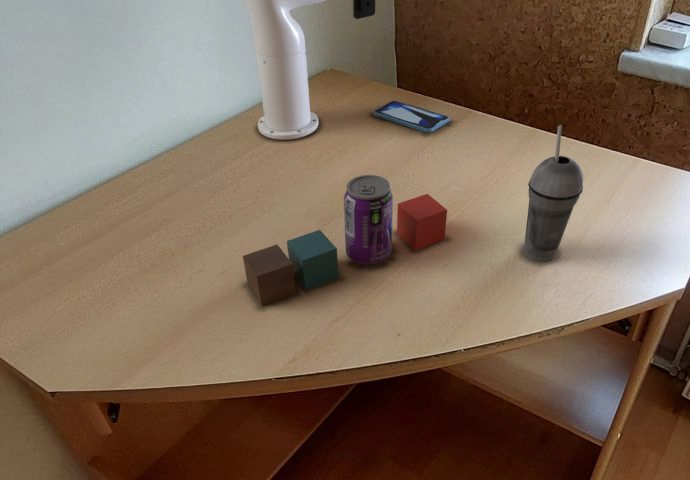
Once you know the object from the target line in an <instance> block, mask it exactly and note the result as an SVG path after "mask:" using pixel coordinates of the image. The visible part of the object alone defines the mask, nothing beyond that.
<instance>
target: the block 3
mask: <svg viewBox="0 0 690 480" xmlns="http://www.w3.org/2000/svg"><path fill="white" fill-rule="evenodd" d="M396 214H397V215H396V234H397V235H398V236H399V237H400V238H402V239H403V240H404V241H405V242H406V243H407V244H408V245H409V246H410V247H411V248H412V249H413V250H414V251H418V250H420V249H423V248H425V247H429V246H431V245H434V244H436V243H438V242H442V241H444V240H445V239H446V238H445V236H446V228H447V227H446V226H447V218H448V209H447V208H446V207H444V206H443V205H442V204H441V203H440V202H439V201H437V200H436V199H435V198H433V196H431V195H430V194H429V193H424V194H422V195H418V196H416V197H413V198H410V199H407V200H404V201H402V202H399V203H397V213H396Z"/></svg>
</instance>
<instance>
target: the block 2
mask: <svg viewBox="0 0 690 480" xmlns="http://www.w3.org/2000/svg"><path fill="white" fill-rule="evenodd" d="M286 246H287V254H288V256H287V257H288V259H289V260H290V261H291V263H292V264H293V272H294V278H295V279H296V280H297V281H298V283H299V284H300V285H301V286H302V288H303V289H304V290H305V291H308V290H310V289H313V288H316V287H318V286H321V285H324V284H327V283H330V282H332V281H335V280H338V279H339V263H338V247H336V246H335V245H334V243H333V242H332V241H331V240H330V239H329V238H328V237H327V235H325V234H324V233H323V231H322V230H321V229H317V230H315V231H311V232H309V233H306V234H303V235H300V236H297V237H294V238H291V239H288V240H286Z"/></svg>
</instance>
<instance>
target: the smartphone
mask: <svg viewBox="0 0 690 480" xmlns="http://www.w3.org/2000/svg"><path fill="white" fill-rule="evenodd" d="M373 116H375V117H378V118H381V119H384V120H386V121H390V122H393V123H395V124H396V123H397V124H399V125H403V126H406V127H409V128H411V129H415V130H418V131H421V132H423V133H432V132H434V131H435V130H438V129H439V128H441V127H442V126H444V125H445V124H447V123H449V122H450V117H449V116H448V115H447V114H446V115H445V114H442V113H440V112H436V111H432V110H430V109H426V108H422V107H419V106H416V105H412V104H410V103H405V102H403V101H399V100H390V101H389V102H387V103H385V104H383V105H381V106H379V107H377V108H375V109H374V110H373Z"/></svg>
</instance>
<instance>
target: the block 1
mask: <svg viewBox="0 0 690 480" xmlns="http://www.w3.org/2000/svg"><path fill="white" fill-rule="evenodd" d="M242 260H243V266H244V271H245V276H246V281H247V286H248V287H249V289H250V291H251V293H253V295H254V297H255V298H256V299H257V301H258V303H259V304H260V305H261V306H262V307H264V306H266V305H269V304H272V303H275V302H276V301H279V300H282V299H285V298H288V297H291V296H293V295H296V294H297V289H296V283H295V282H296V281H295V276H294V272H293V264H292V263H291V261H290V260H289V256H287V255H286V254H285V252H284V251H283V249H282V248H281V247H280V246H279V244H274V245H271V246H268V247H265V248H261V249H259V250H256V251H253V252H250V253H247V254H244V255H242Z"/></svg>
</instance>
